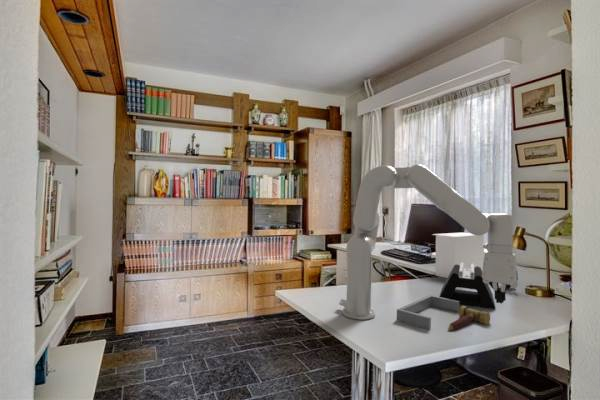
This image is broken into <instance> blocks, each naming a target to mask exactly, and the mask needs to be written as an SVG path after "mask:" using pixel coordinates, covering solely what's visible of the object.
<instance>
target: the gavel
mask: <svg viewBox="0 0 600 400" xmlns="http://www.w3.org/2000/svg"><path fill="white" fill-rule="evenodd" d="M458 316H459V317H460V318H458V319H457V320H455V321H453V322H450V324H449V326H448V327H447V330H448V331H456V330H458V329H460V328H462V327H463V326H466V325H467V324H468V323H471V322H472V321H475V322H478V323H480V324H482V325H488V324H490V321H491V313H489V312H488V311H481V310H477V309H473V308H469V307H468V306H466V305H460V306H459V311H458Z"/></svg>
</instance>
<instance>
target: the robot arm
mask: <svg viewBox="0 0 600 400" xmlns="http://www.w3.org/2000/svg"><path fill="white" fill-rule="evenodd" d="M413 188H414V189H415V190H416V191H417V192H419V193H420V194H421V195H422V196H423V197H424V198H426V199H427V200H428V201H429V202H430V203H431V204H433V205H434V206H435V207H436V208H437V209H439V210H441V211H442V212H444V213H445V214H447V215H448V216H449V217H451V218H452V219H453V220H454V221H456V223H458V224H459V225H460V226H462V227H463V228H464V229H465V230H466V231H467V233H471V234H473V235H483V234H484V235H485V234H487V243H485V244H484V245H483V248H484V249H487V251H488V252H485V255H484V260H483V270H482V278H483V282H484V283H486V284H488V285H489V287H491V288H492V290H493V291H494V300H495V302H496V303H497V304H498V303H499V304H503V303H504V302H505V301H506V299H507V298H506V296H507V295H506V291H508V290H509V288H511V289H514V288H515V289H517V288H518V287H519V283H518V280H519V274H518V273H519V272H518V271H519V270H518V262H517V258H516V257H517V256H516V253H514V254H513V251H514V246H513V245H514V238H513V237H514V236H513V235H514V233H513V232H514V231H513V230H514V229H513V228H514V227H513V225H514V223H513V222H514V221H513V220H514V219H513V216H512V214H509V213H497V212H496V213H483V212H482V211H480V210H479V209H478V208H477V207H475V206H474V205H473V204H472V203H471V202H469V201H468V200H466V198H464V197H463V196H462V195H461V194H459V192H457V191H456V190H455V189H454V188H453V187H451V186H450V185H449V184H448V183H446V181H444V180H443V179H441V178H440V177H439V176H438V175H436V174H435V173H434V172H432V170H430V169H429V168H428V167H426V166H425V165H423V164H421V163H420V164H419V163H418V164H413V165H412V166H408V167H406V166H404V167H392V166H391V165H388V164H387V165H385V164H383V165H379V166H376V167H374V168H372V169H369V171H368V172H366V173H365V175H364V176H363V178H362V179H361V182H360V184H359V188H358V194H357V198H356V202H355V209H354V213H353V216H352V223H353V226H354V227H355V228H354V232H353V235H352V236H351V237H350V238H349V240H348V241H347V244H346V248H345V249H346V252H345V254H346V266H347V267H346V299H345V298H341V299H340V302H339V305H340V306H343V309H342V315H343V316H344V317H346V318H349V319H353V320H360V321H361V320H362V321H363V320H371V319H373V318H375V316H376V312H375V310H374V309H372V271H373V270H372V268H373V267H372V266H373V265H372V264H373V263H372V252H373V251H374V249H375V247H376V243H377V237H378V232H379V226H380V214H379V212H378V211H379V209H378V208H379V203H380V199H381V193H382V191H383V189H413ZM499 283H502V286H501V288H499Z"/></svg>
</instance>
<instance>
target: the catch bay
mask: <svg viewBox="0 0 600 400" xmlns="http://www.w3.org/2000/svg"><path fill="white" fill-rule="evenodd" d="M431 306H432V307H436V308H440V309H444V310H448V311H453V312H457V313H459V309H460V305H459V301H456V300H451V299H446V298H442V297H439V296H437V295H433V294H428V295H426V296H424V297H422V298H420V299H417V300H415V301H413V302H411V303H409V304H406V305H404V306H402V307H399V308H397V309H396V321H398V322H403V323H405V324H409V325H411V326H414V327H415V326H416V327H419V328H422V329H426V330H431V328H432V327H431V326H432V324H431V323H432V317H431V316H427V315H424V314H420V313H419V312H421V311H423V310H425V309H427V308H429V307H431Z"/></svg>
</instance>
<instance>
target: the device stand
mask: <svg viewBox="0 0 600 400" xmlns="http://www.w3.org/2000/svg"><path fill="white" fill-rule="evenodd" d="M463 267H464V263H460V266H459V265H454V267H453V269H452V271H451V272H450V274H449V276H448V278H446V280H445V282H444V283H443V286H442V287H441V290H440V293H439V296H438V297H442V298H446V299H451V300H456V301H459V306H466V307H468V306H469V307H474V308H481V309H490V310H494V309H496V304H495V301H494V300H495V298H494V295H493V293H492V290H491V288H490V285H489V284H486V283H484V282H483V278H482V270H481V268H480V267H478V266H477V267H475V268H474V264H471V269H465V268H463ZM457 288H460V289H457ZM464 289H465V290H464ZM466 289H469V290H466ZM473 290H475V291H473Z"/></svg>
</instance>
